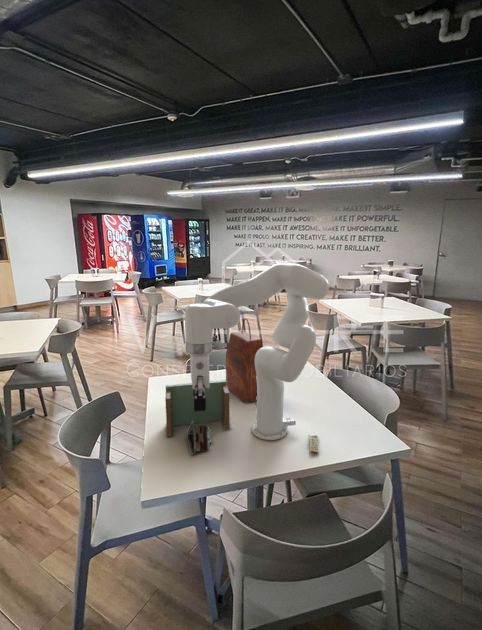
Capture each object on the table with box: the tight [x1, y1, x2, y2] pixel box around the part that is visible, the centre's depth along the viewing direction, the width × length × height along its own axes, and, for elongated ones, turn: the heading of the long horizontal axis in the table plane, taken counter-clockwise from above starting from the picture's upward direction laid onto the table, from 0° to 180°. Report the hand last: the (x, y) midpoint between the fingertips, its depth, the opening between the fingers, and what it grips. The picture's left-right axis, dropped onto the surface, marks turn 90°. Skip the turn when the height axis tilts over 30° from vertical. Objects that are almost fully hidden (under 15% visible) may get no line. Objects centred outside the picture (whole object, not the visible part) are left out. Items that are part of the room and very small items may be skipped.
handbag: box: [225, 317, 264, 403], centre depth 149 cm, size 10×19×35 cm, turn 31°
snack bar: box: [308, 434, 320, 454], centre depth 113 cm, size 10×2×3 cm
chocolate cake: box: [185, 419, 212, 456], centre depth 113 cm, size 10×7×12 cm
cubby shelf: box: [164, 379, 231, 438], centre depth 122 cm, size 22×9×16 cm, turn 104°
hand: (199, 402), depth 99 cm, fingers open, 9 cm apart
